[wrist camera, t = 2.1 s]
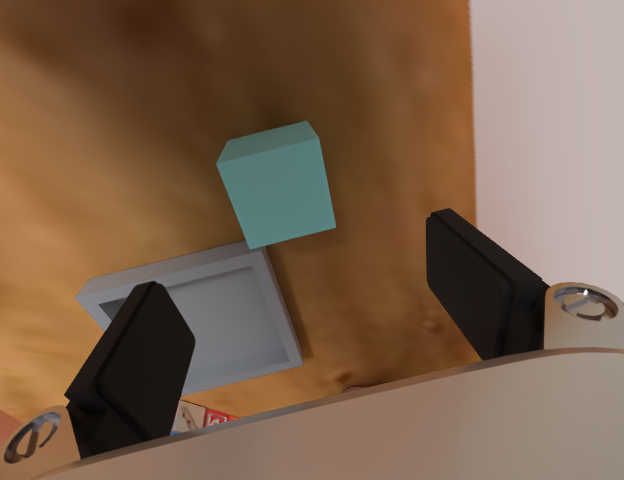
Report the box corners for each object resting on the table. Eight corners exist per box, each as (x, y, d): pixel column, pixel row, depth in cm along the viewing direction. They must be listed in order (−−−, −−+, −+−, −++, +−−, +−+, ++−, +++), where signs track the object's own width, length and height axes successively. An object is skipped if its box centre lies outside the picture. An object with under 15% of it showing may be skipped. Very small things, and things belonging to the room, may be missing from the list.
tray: (89, 278, 22) (74, 297, 20) (261, 235, 22) (261, 250, 20) (170, 380, 28) (164, 400, 27) (301, 347, 29) (303, 365, 27)
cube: (227, 140, 18) (216, 163, 14) (306, 120, 18) (319, 137, 14) (253, 211, 21) (249, 249, 16) (322, 193, 21) (336, 227, 16)
